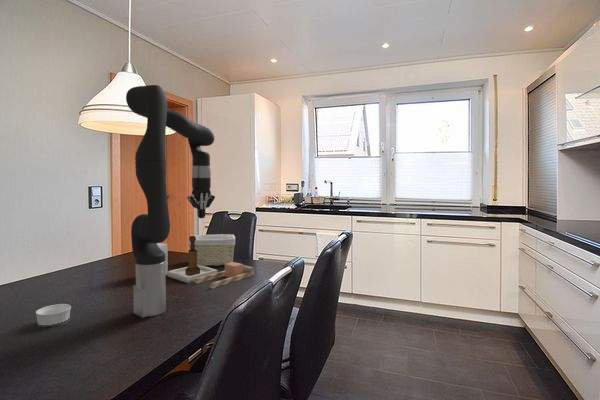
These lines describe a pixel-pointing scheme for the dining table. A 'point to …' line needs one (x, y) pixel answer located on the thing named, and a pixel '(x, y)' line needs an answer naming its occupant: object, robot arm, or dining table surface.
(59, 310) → the ramekin
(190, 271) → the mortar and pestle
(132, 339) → the dining table surface
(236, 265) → the orange brown block
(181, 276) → the tray
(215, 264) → the storage basket
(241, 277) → the rail
